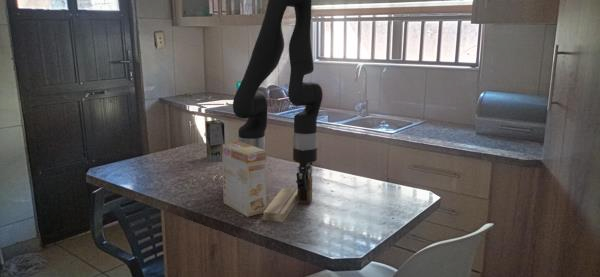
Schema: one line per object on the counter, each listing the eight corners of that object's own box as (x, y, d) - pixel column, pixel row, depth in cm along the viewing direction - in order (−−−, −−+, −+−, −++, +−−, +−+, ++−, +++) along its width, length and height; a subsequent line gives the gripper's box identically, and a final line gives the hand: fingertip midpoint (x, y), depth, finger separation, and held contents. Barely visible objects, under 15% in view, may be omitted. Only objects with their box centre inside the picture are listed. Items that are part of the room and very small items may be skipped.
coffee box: (225, 161, 202) (224, 123, 199) (210, 162, 200) (209, 124, 196) (221, 155, 211) (219, 119, 207) (206, 157, 208) (205, 120, 205)
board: (263, 220, 140) (263, 211, 139) (282, 195, 161) (282, 187, 160) (283, 222, 139) (283, 213, 138) (299, 196, 160) (299, 189, 159)
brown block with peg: (294, 202, 154) (294, 178, 152) (297, 198, 157) (297, 175, 156) (309, 204, 153) (309, 179, 151) (312, 199, 156) (312, 176, 155)
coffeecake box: (267, 212, 146) (266, 150, 142) (247, 217, 142) (245, 153, 138) (242, 198, 158) (240, 140, 153) (222, 203, 153) (220, 143, 149)
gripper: (298, 140, 158) (297, 189, 162) (288, 150, 145) (288, 204, 149) (320, 141, 157) (319, 191, 161) (312, 152, 143) (312, 206, 147)
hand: (304, 197), depth 155 cm, fingers closed on brown block with peg, 4 cm apart
